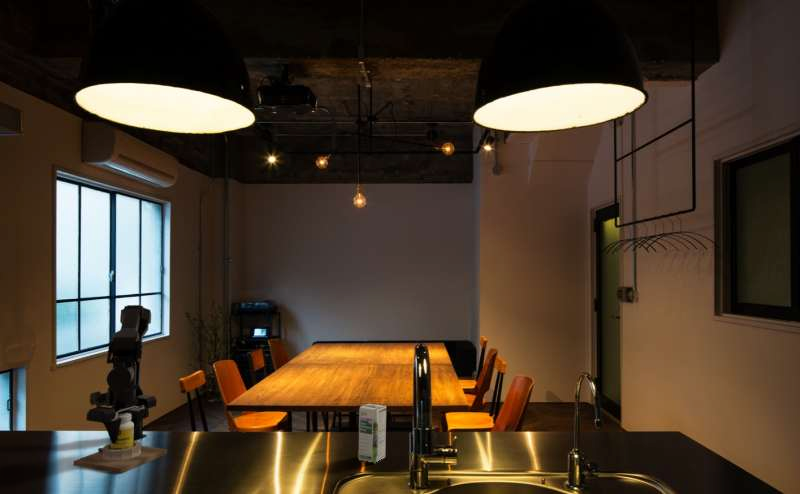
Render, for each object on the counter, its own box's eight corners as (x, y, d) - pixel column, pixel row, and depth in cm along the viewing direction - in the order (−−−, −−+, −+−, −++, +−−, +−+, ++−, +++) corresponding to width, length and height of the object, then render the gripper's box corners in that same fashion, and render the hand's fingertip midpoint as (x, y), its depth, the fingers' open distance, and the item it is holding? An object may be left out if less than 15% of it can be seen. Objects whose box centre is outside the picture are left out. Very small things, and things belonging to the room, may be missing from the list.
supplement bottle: (108, 455, 146) (109, 418, 146) (113, 448, 151) (114, 412, 151) (130, 453, 147) (132, 416, 147) (134, 447, 152) (136, 411, 153)
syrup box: (357, 460, 151) (358, 406, 151) (368, 454, 156) (369, 402, 156) (375, 464, 148) (376, 409, 148) (386, 457, 153) (386, 405, 154)
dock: (121, 447, 159) (122, 434, 159) (166, 453, 154) (167, 440, 154) (72, 465, 144) (73, 451, 144) (120, 473, 139) (121, 458, 139)
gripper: (128, 373, 161) (126, 427, 160) (71, 386, 143) (69, 446, 143) (158, 376, 157) (157, 431, 157) (104, 390, 140) (102, 452, 139)
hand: (122, 439), depth 149 cm, fingers closed on supplement bottle, 5 cm apart
